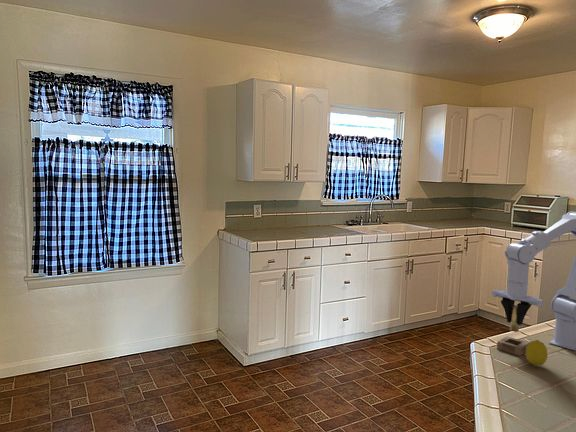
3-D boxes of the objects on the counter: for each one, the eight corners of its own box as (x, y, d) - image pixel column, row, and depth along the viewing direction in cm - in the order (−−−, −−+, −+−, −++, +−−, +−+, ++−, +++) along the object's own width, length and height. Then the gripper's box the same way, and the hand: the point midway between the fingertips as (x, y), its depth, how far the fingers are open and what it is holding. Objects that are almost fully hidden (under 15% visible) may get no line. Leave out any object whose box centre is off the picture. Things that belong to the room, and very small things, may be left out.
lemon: (549, 371, 125) (551, 344, 124) (528, 369, 126) (530, 342, 125) (542, 363, 131) (544, 337, 130) (522, 361, 132) (524, 335, 131)
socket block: (506, 343, 145) (507, 336, 145) (528, 350, 140) (529, 342, 140) (497, 348, 141) (497, 341, 141) (519, 355, 136) (520, 348, 135)
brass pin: (511, 328, 142) (513, 304, 141) (519, 330, 140) (521, 306, 139) (508, 330, 140) (510, 305, 139) (516, 332, 138) (518, 307, 137)
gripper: (488, 278, 141) (486, 319, 142) (537, 288, 130) (534, 332, 132) (498, 275, 146) (496, 315, 147) (546, 284, 135) (543, 327, 136)
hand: (514, 323), depth 140 cm, fingers closed on brass pin, 2 cm apart
